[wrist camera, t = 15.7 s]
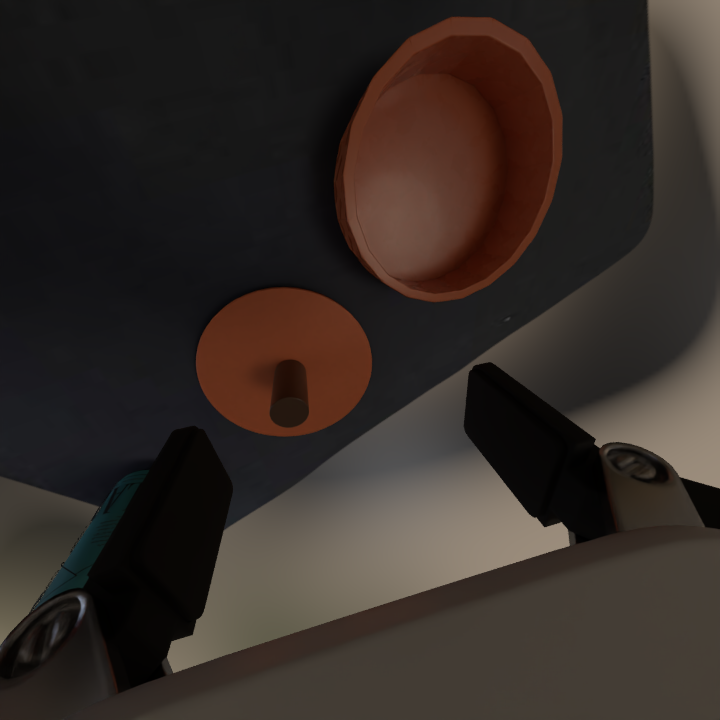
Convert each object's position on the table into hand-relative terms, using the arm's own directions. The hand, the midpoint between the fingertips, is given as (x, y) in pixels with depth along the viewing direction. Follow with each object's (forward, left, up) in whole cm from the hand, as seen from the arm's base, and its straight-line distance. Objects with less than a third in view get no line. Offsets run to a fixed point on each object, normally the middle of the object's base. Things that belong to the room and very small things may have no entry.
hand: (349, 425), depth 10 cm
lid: (+7, -4, -17) cm, 18 cm away
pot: (-7, +10, -17) cm, 21 cm away
